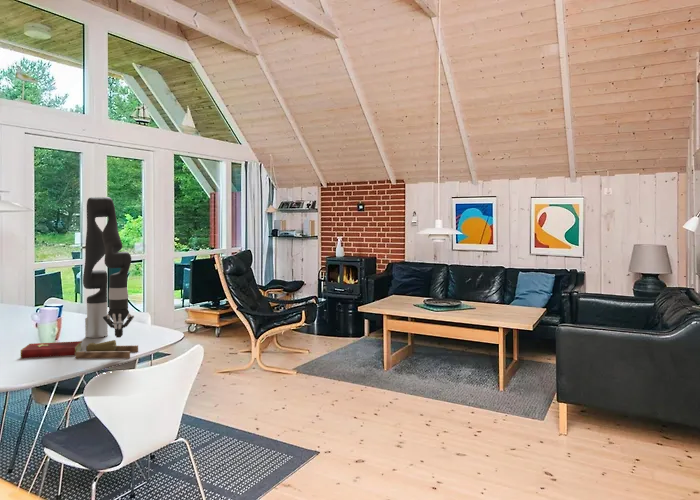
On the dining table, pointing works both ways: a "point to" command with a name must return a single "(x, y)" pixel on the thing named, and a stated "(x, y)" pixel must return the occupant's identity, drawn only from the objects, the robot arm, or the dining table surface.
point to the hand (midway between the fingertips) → (118, 337)
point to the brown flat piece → (109, 352)
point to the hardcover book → (51, 349)
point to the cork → (102, 346)
